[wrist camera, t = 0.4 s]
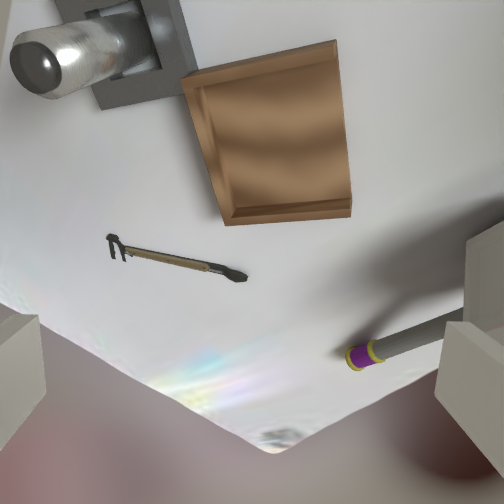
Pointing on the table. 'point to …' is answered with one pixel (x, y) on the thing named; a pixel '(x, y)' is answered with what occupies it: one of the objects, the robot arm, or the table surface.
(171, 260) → the tan and black strip
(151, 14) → the socket
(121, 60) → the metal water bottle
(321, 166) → the brown wooden tray
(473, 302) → the hammer
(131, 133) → the table surface
